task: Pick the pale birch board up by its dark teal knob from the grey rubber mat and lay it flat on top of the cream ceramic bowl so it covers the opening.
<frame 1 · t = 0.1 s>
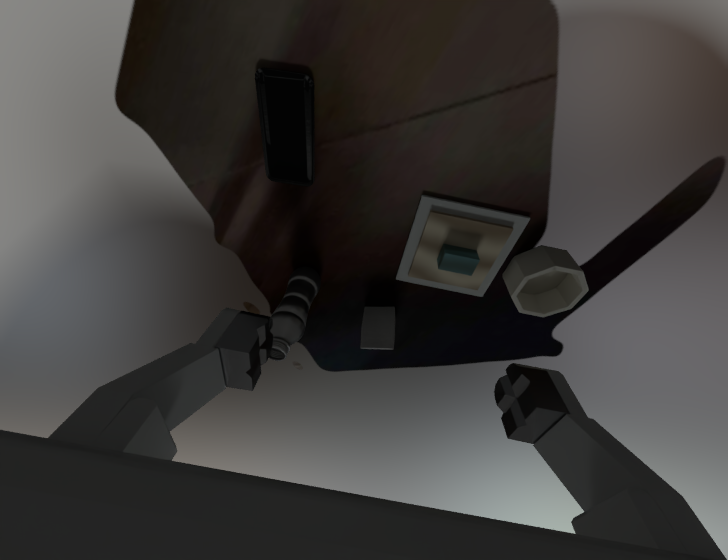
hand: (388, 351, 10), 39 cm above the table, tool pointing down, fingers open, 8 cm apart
mat: (455, 250, 52), on the table
plastic bottle: (308, 274, 60), on the table
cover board: (455, 252, 51), point 1 cm above the table, touching mat
dark grey block: (380, 311, 65), on the table
bowl: (536, 271, 53), on the table
phone: (289, 132, 42), on the table
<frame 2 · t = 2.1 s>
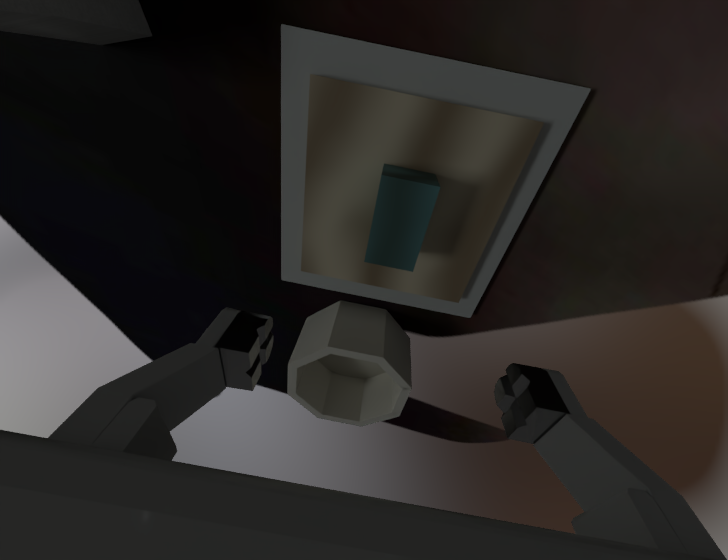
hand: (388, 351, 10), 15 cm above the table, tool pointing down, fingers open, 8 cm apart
mat: (399, 204, 22), on the table
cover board: (399, 207, 21), point 1 cm above the table, touching mat
bowl: (355, 342, 31), on the table
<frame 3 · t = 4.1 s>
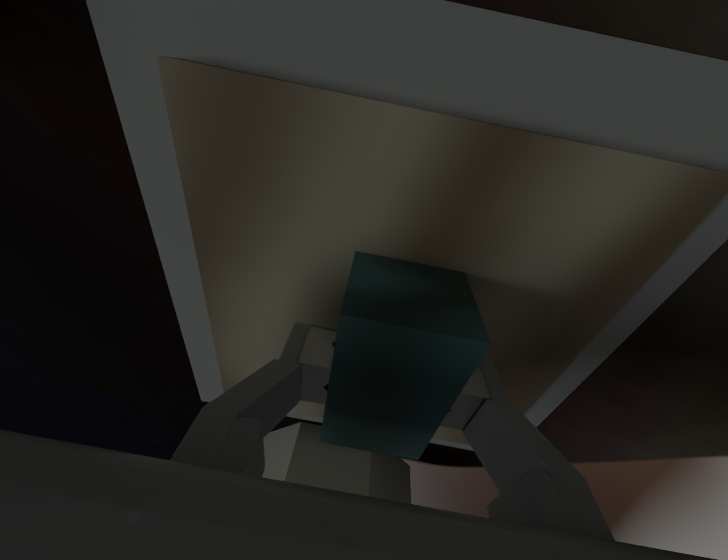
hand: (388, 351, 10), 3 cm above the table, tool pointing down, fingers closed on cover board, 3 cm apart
mat: (389, 305, 12), on the table
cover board: (389, 314, 11), point 1 cm above the table, touching gripper, mat
bowl: (328, 466, 21), on the table
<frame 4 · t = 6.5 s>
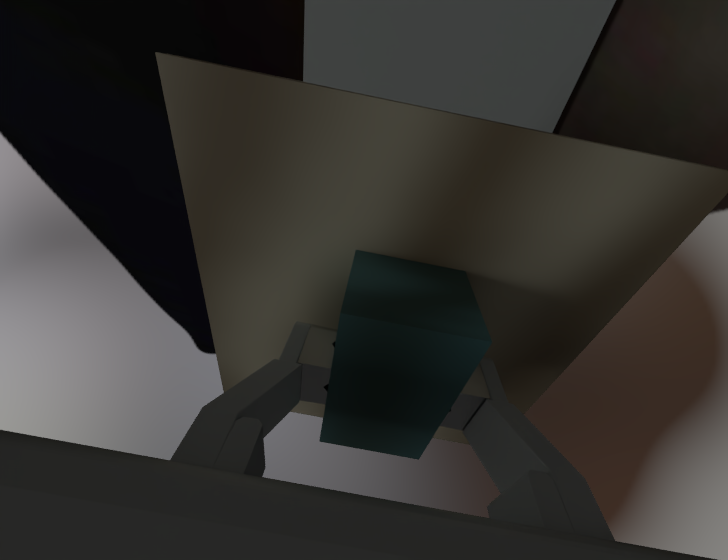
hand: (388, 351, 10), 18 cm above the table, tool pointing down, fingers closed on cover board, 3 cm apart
mat: (429, 97, 20), on the table
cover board: (390, 314, 11), point 16 cm above the table, touching gripper
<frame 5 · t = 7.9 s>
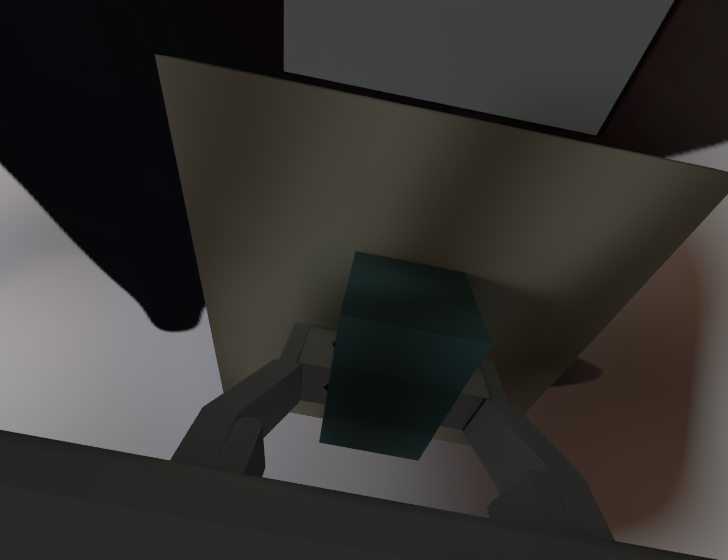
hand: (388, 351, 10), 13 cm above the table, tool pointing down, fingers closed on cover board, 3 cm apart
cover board: (389, 315, 11), point 11 cm above the table, touching gripper
when the fingers open (9 cm above the table, at t = 9.2 s): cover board drops 1 cm, resting on bowl.
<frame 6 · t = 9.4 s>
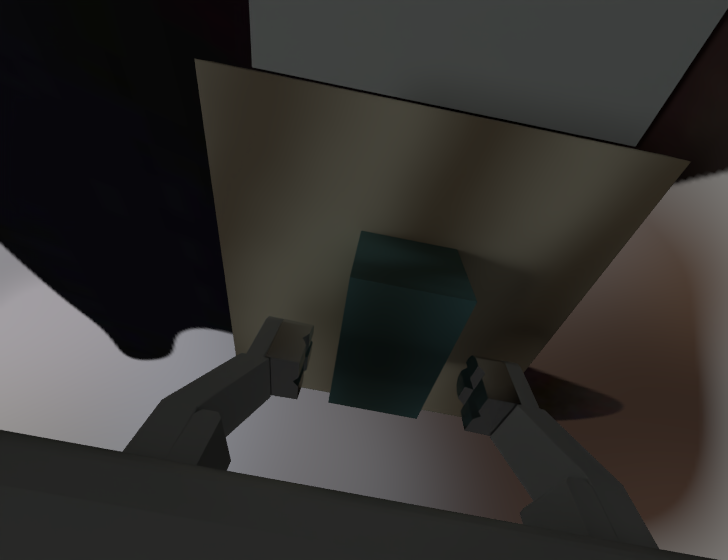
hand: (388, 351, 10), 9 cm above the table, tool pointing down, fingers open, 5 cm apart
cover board: (390, 292, 12), point 6 cm above the table, touching bowl
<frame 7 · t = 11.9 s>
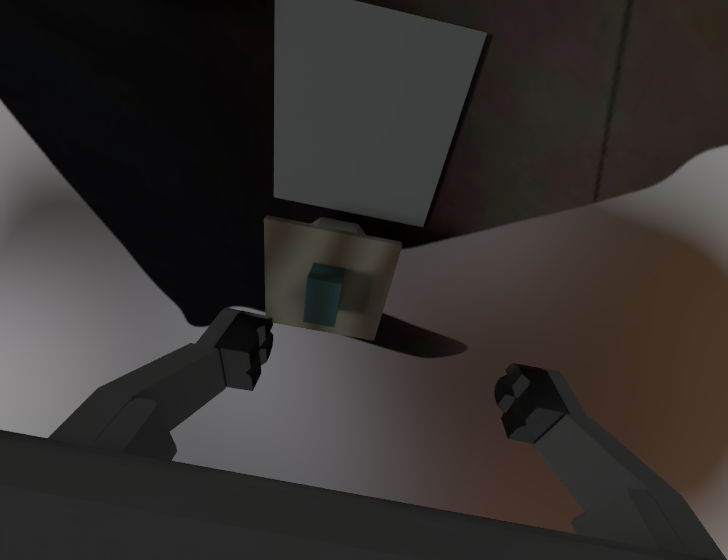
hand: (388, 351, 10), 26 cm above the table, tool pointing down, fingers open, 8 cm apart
mat: (363, 127, 29), on the table
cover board: (327, 283, 33), point 6 cm above the table, touching bowl
bowl: (334, 258, 38), on the table
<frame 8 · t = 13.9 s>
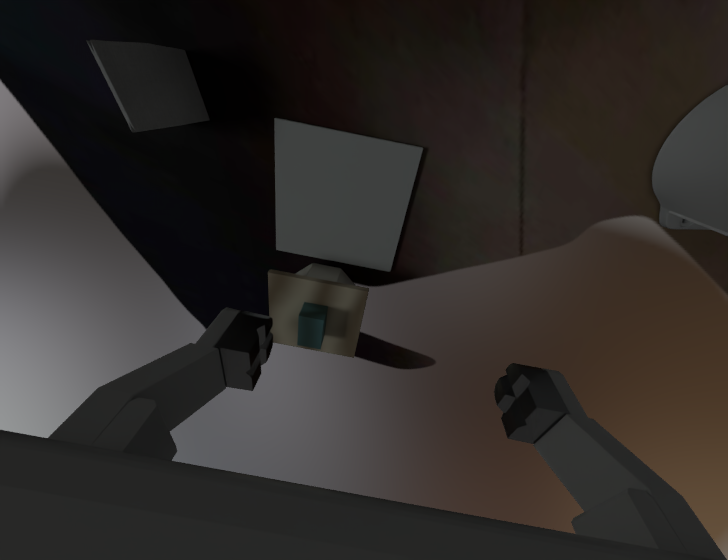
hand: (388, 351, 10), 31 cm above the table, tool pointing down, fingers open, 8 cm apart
mat: (340, 204, 39), on the table
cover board: (316, 315, 43), point 6 cm above the table, touching bowl
dark grey block: (185, 89, 33), on the table
bowl: (324, 292, 48), on the table
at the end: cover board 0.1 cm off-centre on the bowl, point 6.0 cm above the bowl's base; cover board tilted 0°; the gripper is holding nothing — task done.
